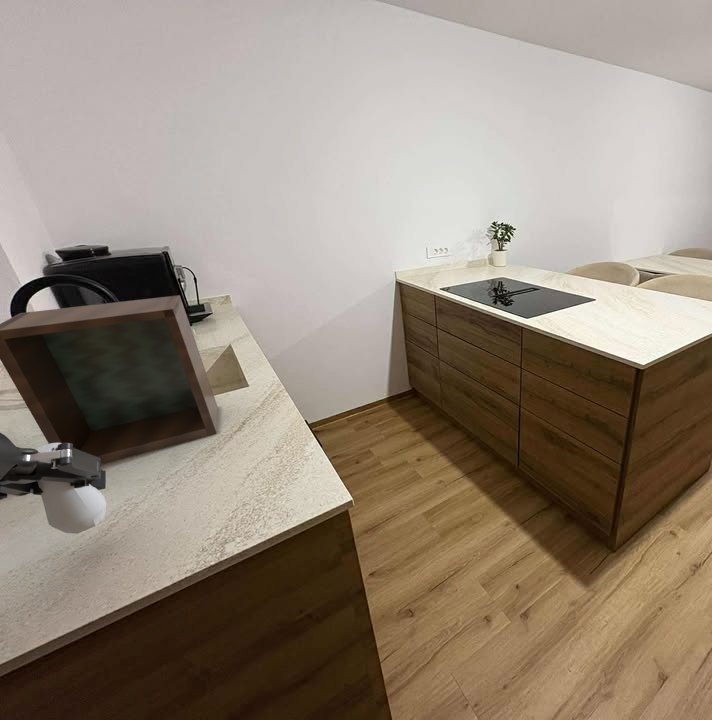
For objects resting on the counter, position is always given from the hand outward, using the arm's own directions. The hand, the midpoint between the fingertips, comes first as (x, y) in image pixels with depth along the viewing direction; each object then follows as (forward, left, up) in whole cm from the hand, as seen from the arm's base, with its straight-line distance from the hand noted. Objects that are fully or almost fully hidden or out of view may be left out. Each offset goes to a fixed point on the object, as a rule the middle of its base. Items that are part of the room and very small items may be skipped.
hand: (86, 483), depth 56 cm
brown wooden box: (-13, +24, -9) cm, 29 cm away
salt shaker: (+2, -4, -4) cm, 6 cm away
